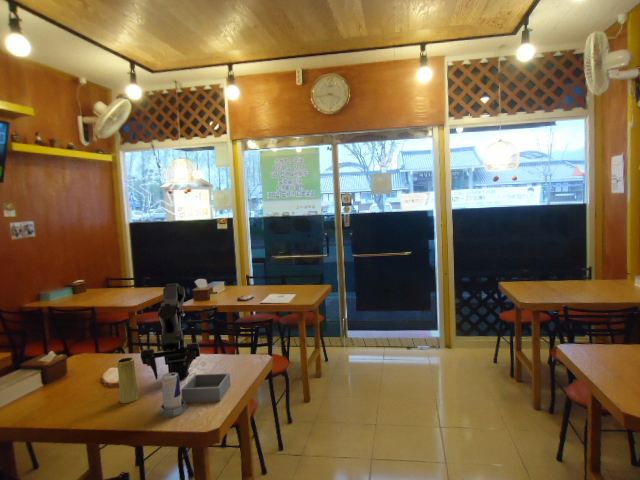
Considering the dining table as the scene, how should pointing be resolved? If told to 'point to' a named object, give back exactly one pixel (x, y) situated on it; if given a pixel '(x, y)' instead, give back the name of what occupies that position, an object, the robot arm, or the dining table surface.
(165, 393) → the energy drink
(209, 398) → the bin
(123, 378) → the vase
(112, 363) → the dining table surface
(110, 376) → the bread slice
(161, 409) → the metal collar
